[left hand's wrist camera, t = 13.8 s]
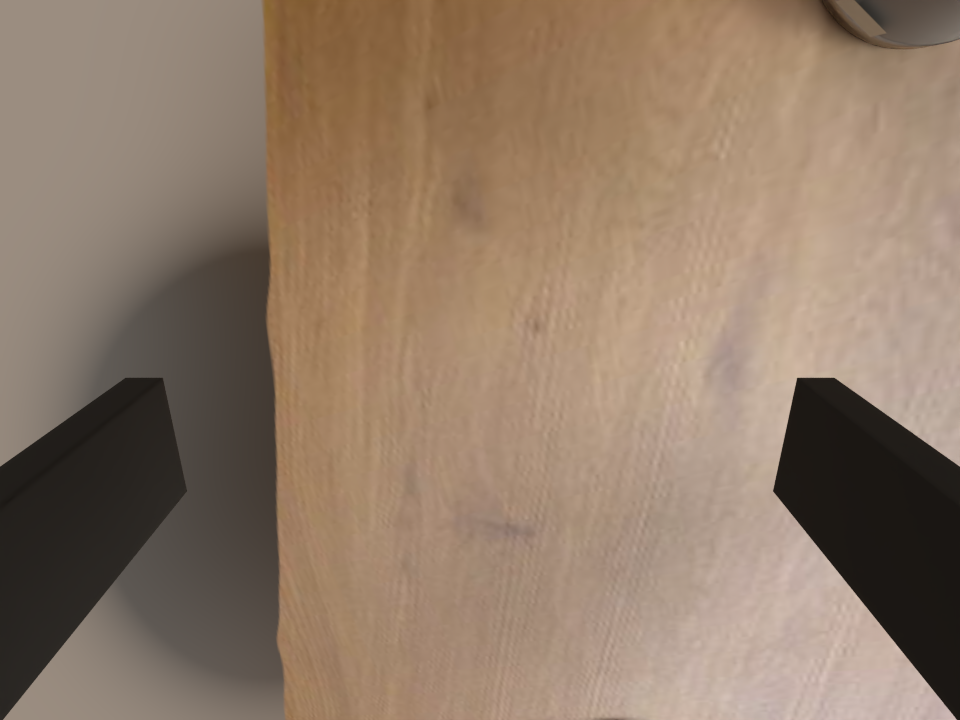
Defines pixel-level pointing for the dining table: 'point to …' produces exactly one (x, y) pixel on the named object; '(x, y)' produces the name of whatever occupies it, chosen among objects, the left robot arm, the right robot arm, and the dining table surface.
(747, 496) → the dining table surface
